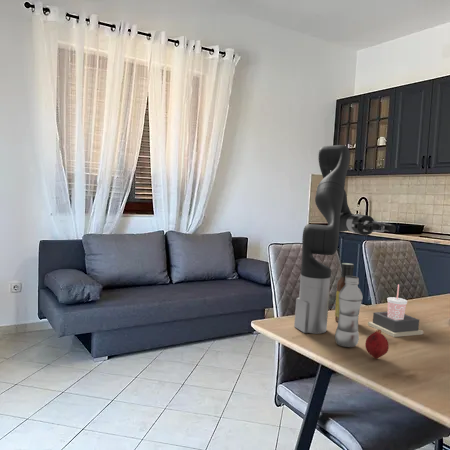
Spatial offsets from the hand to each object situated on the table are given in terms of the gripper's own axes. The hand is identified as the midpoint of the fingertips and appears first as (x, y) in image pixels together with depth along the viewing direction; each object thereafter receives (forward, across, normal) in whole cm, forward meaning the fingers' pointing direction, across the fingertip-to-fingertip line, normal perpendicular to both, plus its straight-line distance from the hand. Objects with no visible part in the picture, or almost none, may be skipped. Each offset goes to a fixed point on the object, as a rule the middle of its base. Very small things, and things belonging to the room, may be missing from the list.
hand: (383, 228), depth 151 cm
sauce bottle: (+3, -13, +32) cm, 35 cm away
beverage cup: (+11, 0, +31) cm, 33 cm away
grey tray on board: (+11, 0, +32) cm, 34 cm away
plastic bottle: (+25, -24, +32) cm, 47 cm away
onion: (+34, -20, +32) cm, 51 cm away
